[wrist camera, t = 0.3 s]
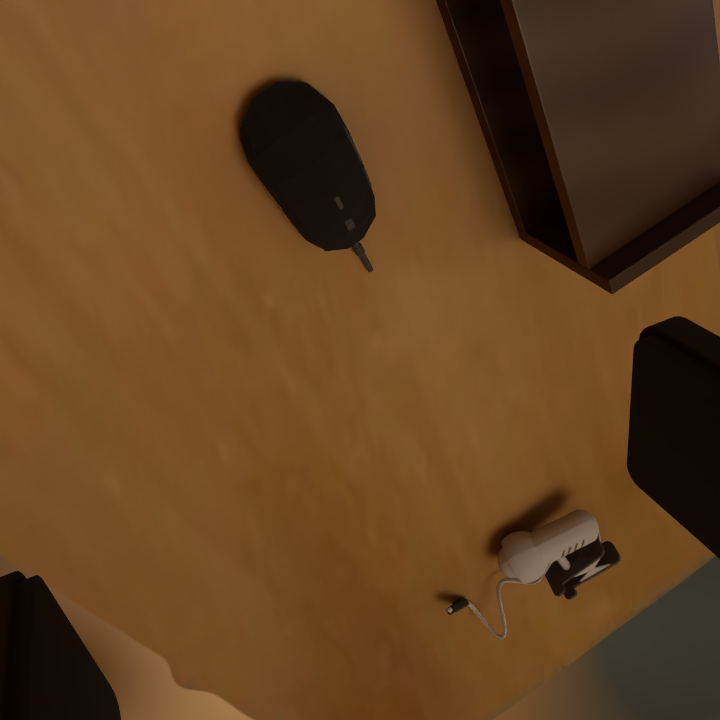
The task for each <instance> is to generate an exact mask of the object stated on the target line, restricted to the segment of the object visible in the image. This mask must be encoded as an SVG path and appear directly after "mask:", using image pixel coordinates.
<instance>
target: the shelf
mask: <svg viewBox="0 0 720 720" xmlns="http://www.w3.org/2000/svg"><path fill="white" fill-rule="evenodd" d="M437 3H438V6H439V9H440V12H441V14H442V17H443V20H444V23H445V26H446V29H447V32H448V34H449V37H450V40H451V43H452V46H453V49H454V51H455V54H456V57H457V60H458V63H459V66H460V68H461V71H462V74H463V77H464V80H465V83H466V85H467V88H468V91H469V94H470V97H471V100H472V102H473V105H474V108H475V111H476V114H477V117H478V119H479V122H480V125H481V128H482V131H483V134H484V136H485V139H486V142H487V145H488V148H489V151H490V153H491V156H492V159H493V162H494V165H495V168H496V170H497V173H498V176H499V179H500V182H501V185H502V187H503V190H504V193H505V196H506V199H507V202H508V204H509V207H510V210H511V213H512V216H513V219H514V221H515V224H516V227H517V229H518V232H519V235H520V238H521V240H523V241H525V242H526V243H528V244H530V245H531V246H533V247H535V248H536V249H538V250H540V251H541V252H543V253H545V254H546V255H548V256H550V257H551V258H553V259H555V260H556V261H558V262H559V263H561V264H563V265H564V266H566V267H568V268H569V269H571V270H573V271H574V272H576V273H578V274H579V275H581V276H583V277H584V278H586V279H588V280H589V281H591V282H593V283H594V284H596V285H598V286H599V287H601V288H603V289H604V290H606V291H608V292H609V293H611V294H613V293H615V292H616V291H618V290H619V289H621V288H622V287H624V286H625V285H627V284H628V283H630V282H631V281H633V280H634V279H636V278H637V277H639V276H640V275H642V274H643V273H645V272H646V271H648V270H649V269H651V268H652V267H654V266H655V265H657V264H658V263H660V262H661V261H663V260H664V259H666V258H667V257H669V256H670V255H672V254H673V253H675V252H676V251H678V250H679V249H681V248H682V247H684V246H685V245H687V244H688V243H690V242H691V241H693V240H694V239H696V238H697V237H699V236H700V235H701V234H703V233H704V232H706V231H707V230H709V229H710V228H712V227H713V226H715V225H716V224H718V223H719V222H720V61H719V53H718V44H717V37H716V36H717V35H716V26H715V18H714V9H713V1H712V0H437Z"/></svg>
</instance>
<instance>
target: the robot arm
mask: <svg viewBox="0 0 720 720" xmlns="http://www.w3.org/2000/svg"><path fill="white" fill-rule="evenodd" d="M627 468H628V471H629V474H630V476H631V478H632V480H633V481H634V483H635V484H636V485H637V486H638V487H639V488H641V489H642V490H643V491H644V492H645V493H646V494H647V495H648V496H650V497H651V498H652V499H653V500H654V501H655V502H656V503H657V504H659V505H660V506H661V507H662V508H663V509H664V510H665V511H666V512H668V513H669V514H670V515H671V516H672V517H673V518H674V519H676V520H677V521H678V522H679V523H680V524H681V525H682V526H683V527H685V528H686V529H687V530H688V531H689V532H690V533H691V534H692V535H694V536H695V537H696V538H697V539H698V540H699V541H700V542H701V543H703V544H704V545H705V546H706V547H707V548H708V549H709V550H711V551H712V552H713V553H714V554H715V555H716V556H717V557H719V558H720V337H719V336H717V335H715V334H713V333H712V332H710V331H708V330H706V329H704V328H703V327H701V326H699V325H697V324H695V323H694V322H692V321H690V320H688V319H686V318H683V317H681V316H677V317H672V318H670V319H667V320H665V321H662V322H659V323H657V324H654V325H652V326H649V327H647V328H645V329H643V331H642V332H641V334H640V338H639V340H638V341H637V342H636V343H635V345H634V352H633V370H632V387H631V404H630V421H629V439H628V456H627ZM0 720H121V717H120V710H119V705H118V702H117V699H116V696H115V694H114V691H113V689H112V688H111V686H110V684H109V683H108V681H107V680H106V678H105V676H104V675H103V673H102V672H101V670H100V669H99V667H98V665H97V664H96V663H95V661H94V659H93V658H92V656H91V655H90V653H89V651H88V650H87V648H86V647H85V645H84V643H83V642H82V640H81V639H80V637H79V636H78V634H77V632H76V631H75V629H74V628H73V626H72V625H71V623H70V622H69V620H68V618H67V617H66V615H65V614H64V612H63V611H62V609H61V608H60V606H59V604H58V603H57V601H56V600H55V598H54V596H53V595H52V593H51V592H50V591H49V589H48V587H47V585H46V584H45V582H44V581H43V580H42V578H41V577H40V576H38V575H35V576H33V577H30V578H28V579H26V577H25V576H24V575H23V574H22V573H21V572H19V571H15V572H12V573H10V574H7V575H5V576H2V577H0Z"/></svg>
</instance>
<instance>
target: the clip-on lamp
mask: <svg viewBox="0 0 720 720" xmlns="http://www.w3.org/2000/svg"><path fill="white" fill-rule="evenodd" d="M600 541H601V537H600V534H599V528H598V523H597V521H596V519H595V518H594V517H593V516H592V515H591V514H590V513H588V512H586V511H584V510H576V511H573V512H571V513H569V514H567V515H565V516H563V517H561V518H559V519H557V520H555V521H553V522H551V523H549V524H547V525H545V526H543V527H541V528H539V529H537V530H535V531H533V532H531V533H530V532H527V531H517V532H513V533H511V534H509V535H507V536H506V537H505V538H503V540H502V541H501V544H502V549H501V550H500V552H499V554H498V565H499V568H500V570H501V571H502V572H503V573H504V574H505V575H507V576H508V577H511V578H505V579H502V580H500V581H499V582H498V585H497V599H498V604H499V609H500V613H501V618H502V623H503V633H502V635H498V634H497V633H496V632H495V631H494V630H493V629H492V628H491V627H490V626H489V624H488V623H487V622H486V620H485V619H484V618H483V616H482V615H481V614H480V612H479V611H478V610H477V608H476V607H475V606H474V605H473V604H472V603H470V602H469V601H468V600H467V599H464V600H461V601H460V599H459V600H457V601H456V602H453V603H452V604H453V605H451V606H450V607H448V608H447V609H446V611H447V612H448V614H449V615H451V614H453V613H455V612H457V611H459V610H461V609H463V608H464V607H466V606H468V607H470V608H471V609H472V610H473V611H474V613H475V614H476V615H477V616H478V617H479V619H480V620H481V621H482V622H483V624H484V625H485V626H486V627H487V629H488V630H489V631H490V632H491V633H492V634H493V635H494V636H495V637H497V638H499V639H504V638H505V636H506V631H507V627H506V620H505V615H504V611H503V606H502V601H501V594H500V590H501V585H503V584H504V583H506V582H514V583H521V584H528V585H531V584H536V583H538V582H539V581H540V580H542V578H543V577H544V575H545V576H546V578H547V580H548V582H549V584H550V586H551V589H552V591H553V593H554V595H556V596H561V595H562V594H564V596H565V597H566V598H567V599H572V598H573V597H575V596H576V595H577V592H576V590H575V587H577V586H579V585H580V584H582V583H584V582H586V581H587V580H589V579H591V578H593V577H595V576H596V575H598V574H600V573H602V572H603V571H605V570H607V569H609V568H610V567H612V566H614V565H616V564H617V563H618V562H619V561H620V555H619V553H618V551H617V550H616V548H615V546H614V545H613V544H612V543H611V542H609V541H606V542H604V543H602V544H601V542H600ZM517 578H519V579H517Z"/></svg>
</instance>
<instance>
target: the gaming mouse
mask: <svg viewBox="0 0 720 720" xmlns="http://www.w3.org/2000/svg"><path fill="white" fill-rule="evenodd" d="M240 134H241V142H242V145H243V147H244V150H245V153H246V156H247V159H248V162H249V164H250V166H251V167H252V169H253V170H254V172H255V173H256V175H257V176H258V178H259V179H260V180H261V182H262V183H263V184H264V186H265V187H266V188H267V190H268V191H269V192H270V193H271V195H272V196H273V197H274V198H275V200H276V201H277V203H278V204H279V205H280V207H281V208H282V210H283V211H284V212H285V214H286V215H287V217H288V218H289V219H290V221H291V222H292V223H293V225H294V226H295V227H296V228H297V229H298V231H299V232H300V233H301V234H302V236H303V237H304V238H305V239H306V240H307V241H309V242H310V243H312V244H314V245H316V246H318V247H320V248H322V249H324V250H325V251H331V250H339V249H347V248H350V247H351V246H352V247H353V249H354V251H355V253H356V255H358V256H360V258H361V260H362V261H363V263H364V265H365V266H366V268H367V270H368V272H371V271H372V270H373V268H372V266H371V264H370V263H369V261H368V259H367V257H366V256H365V254H364V249H363V247H362V245H361V244H360V243H359V241H360V240H361V239H362V238H364V236H365V234H366V233H367V231H368V229H369V227H370V225H371V223H372V221H373V220H374V218H375V216H376V214H375V200H374V194H373V191H372V188H371V183H370V181H369V178H368V175H367V173H366V170H365V168H364V165H363V164H362V160H361V158H360V155H359V153H358V151H357V149H356V147H355V145H354V143H353V140H352V138H351V136H350V133H349V131H348V129H347V127H346V125H345V124H344V122H343V120H342V118H341V116H340V115H339V113H338V111H337V109H336V108H335V106H334V104H332V103H331V102H330V101H329V100H328V99H326V98H325V97H324V96H323V95H321V94H320V93H319V92H318V91H317V90H315V89H314V88H313V87H311V86H310V85H309V84H307V83H304V82H300V81H299V82H276V83H275V84H273V85H272V86H270V87H269V88H267V89H266V90H265V91H263V92H262V93H260V94H259V95H257V96H256V97H254V98H253V99H252V101H251V104H250V106H249V108H248V110H247V113H246V115H245V117H244V120H243V122H242V125H241V128H240Z"/></svg>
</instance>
